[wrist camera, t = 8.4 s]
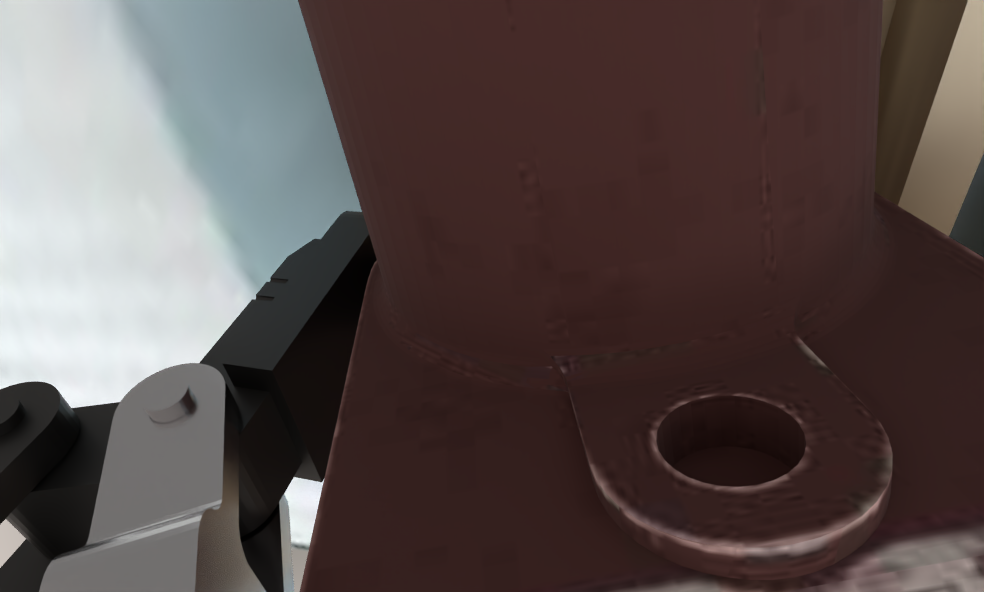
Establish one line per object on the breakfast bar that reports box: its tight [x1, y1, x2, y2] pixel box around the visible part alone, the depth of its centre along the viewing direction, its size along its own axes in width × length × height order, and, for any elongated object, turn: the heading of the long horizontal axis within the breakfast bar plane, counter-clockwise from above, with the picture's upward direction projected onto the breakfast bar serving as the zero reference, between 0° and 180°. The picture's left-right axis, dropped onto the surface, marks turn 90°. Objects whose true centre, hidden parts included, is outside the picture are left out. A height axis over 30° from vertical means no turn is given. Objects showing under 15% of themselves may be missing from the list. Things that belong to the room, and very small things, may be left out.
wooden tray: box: [875, 0, 984, 236], centre depth 13 cm, size 21×10×4 cm, turn 6°
